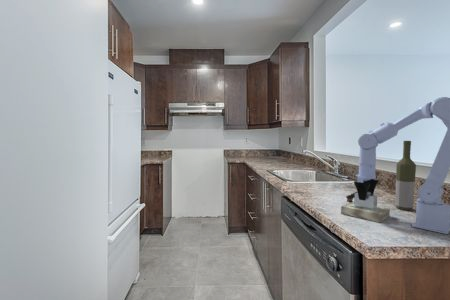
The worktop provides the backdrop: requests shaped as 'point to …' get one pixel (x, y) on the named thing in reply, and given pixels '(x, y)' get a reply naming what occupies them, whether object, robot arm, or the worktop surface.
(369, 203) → the block
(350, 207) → the stand
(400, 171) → the bottle
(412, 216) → the worktop surface
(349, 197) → the broken clay pot shard
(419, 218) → the robot arm
